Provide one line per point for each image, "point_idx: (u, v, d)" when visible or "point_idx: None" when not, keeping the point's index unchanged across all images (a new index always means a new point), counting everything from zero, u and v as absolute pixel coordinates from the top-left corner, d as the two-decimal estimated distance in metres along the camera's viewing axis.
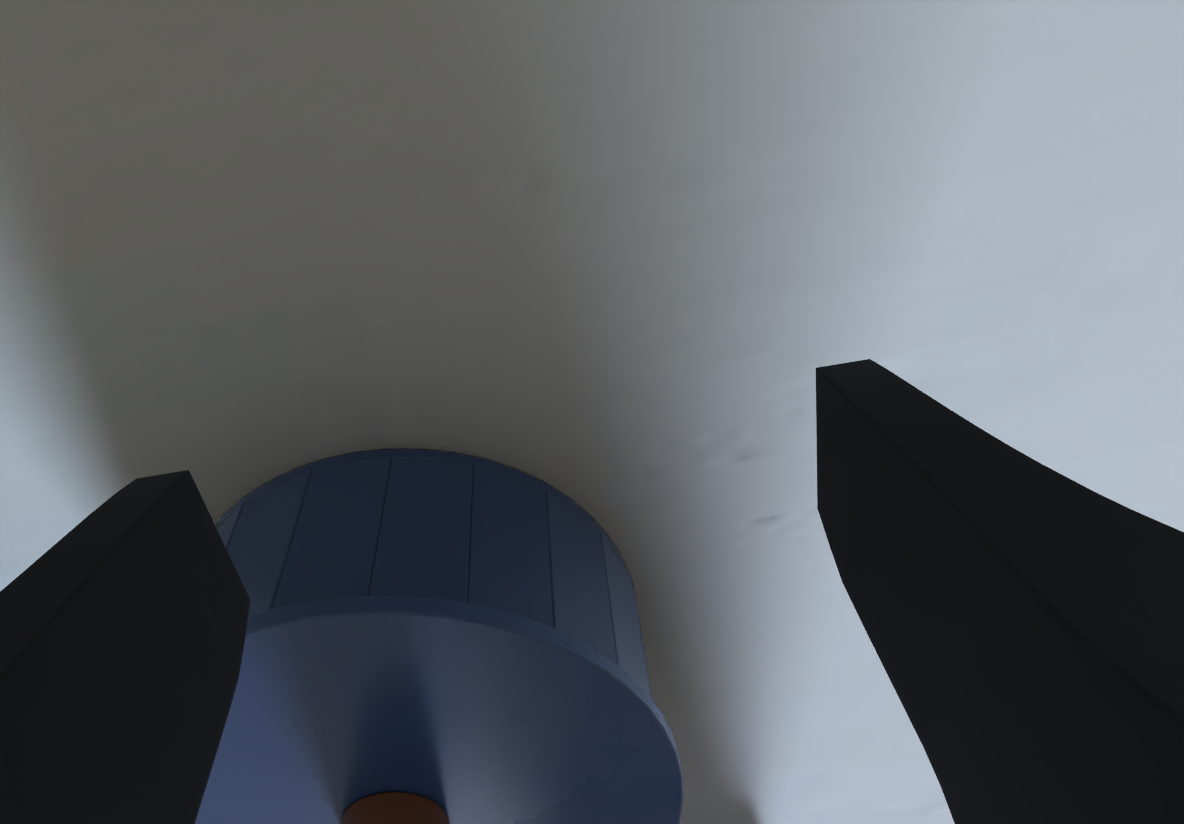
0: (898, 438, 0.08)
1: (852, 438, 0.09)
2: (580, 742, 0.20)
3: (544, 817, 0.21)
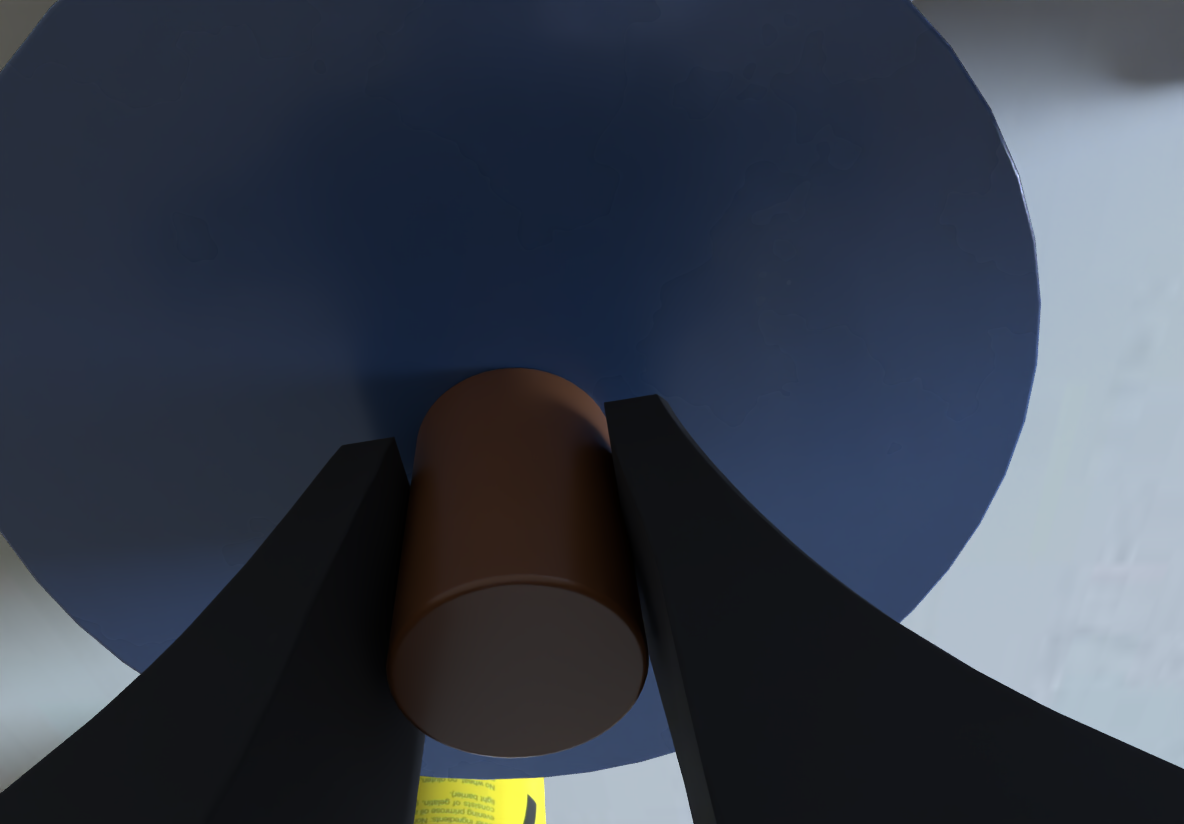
0: (636, 481, 0.08)
1: (618, 476, 0.09)
2: (251, 111, 0.09)
3: (516, 187, 0.10)
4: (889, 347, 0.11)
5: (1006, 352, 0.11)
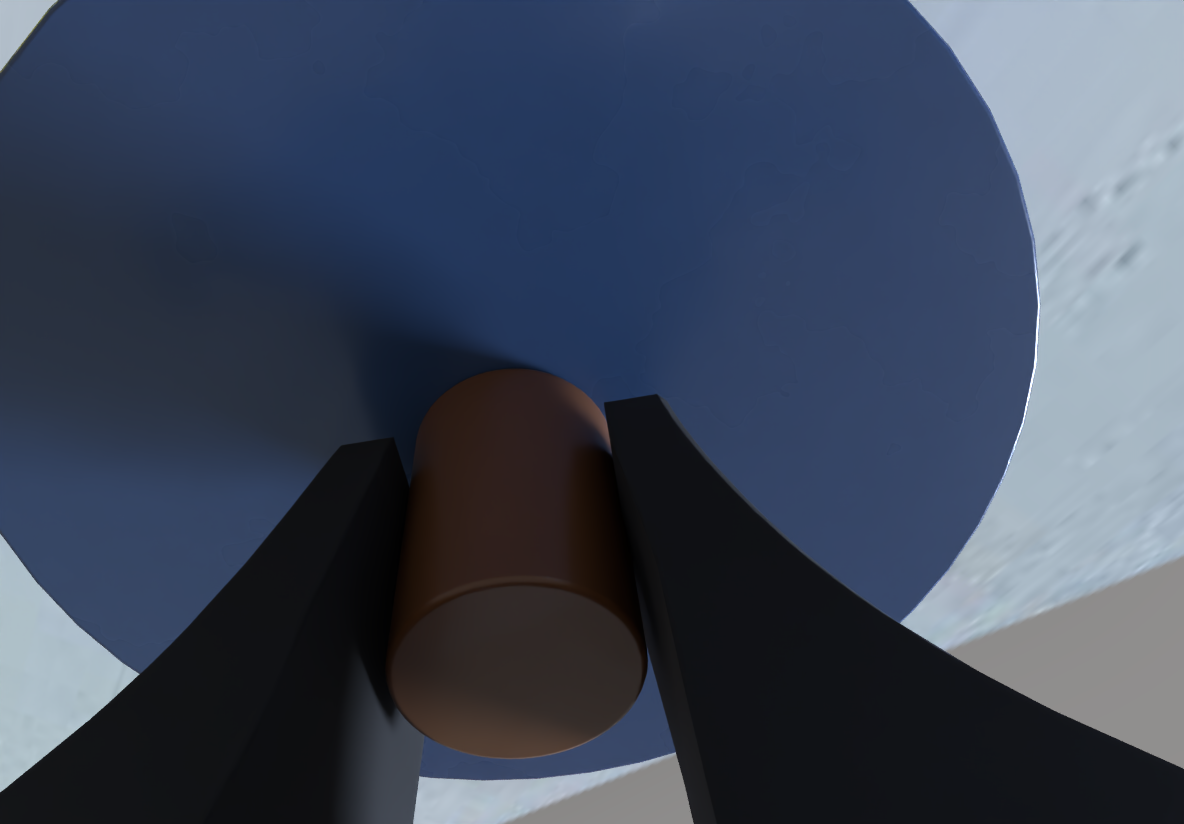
0: (635, 481, 0.08)
1: (618, 476, 0.09)
2: (251, 112, 0.09)
3: (516, 188, 0.10)
4: (889, 348, 0.11)
5: (1006, 353, 0.11)
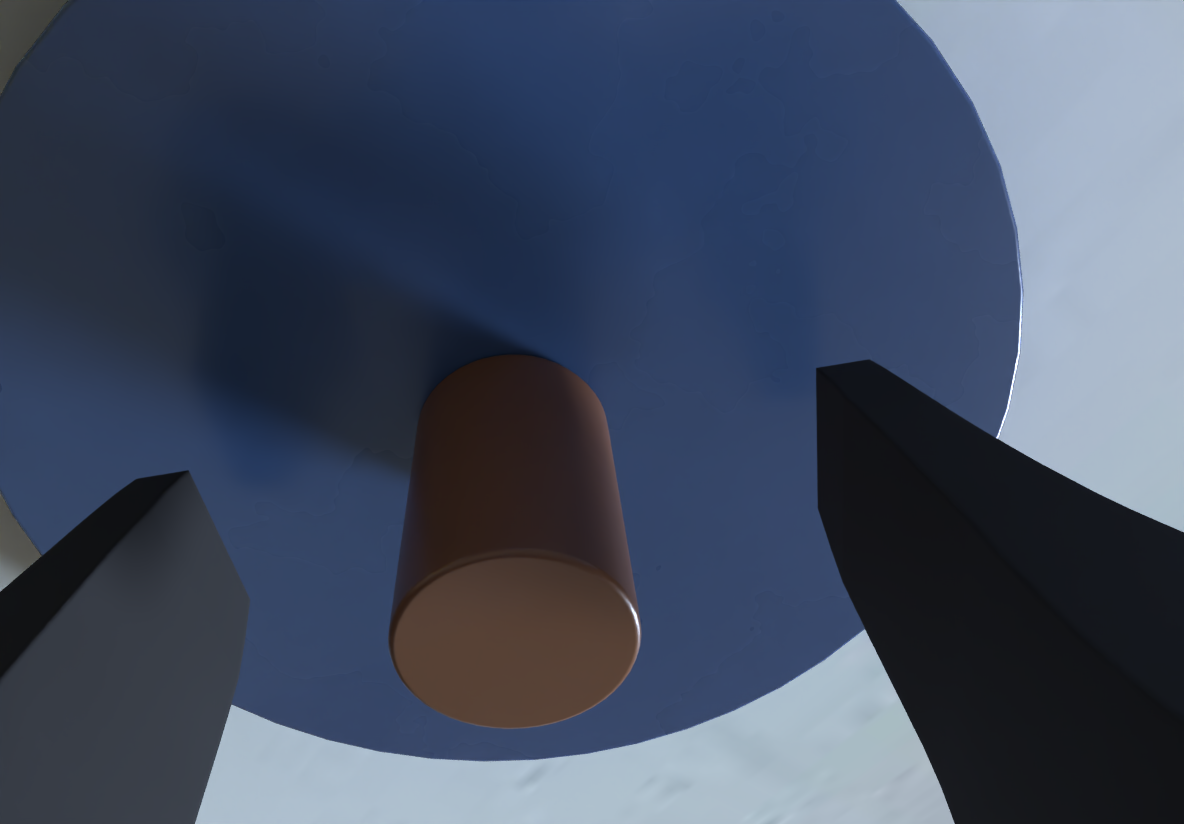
0: (898, 438, 0.08)
1: (852, 438, 0.09)
2: (258, 104, 0.09)
3: (514, 178, 0.10)
4: (876, 335, 0.12)
5: (990, 340, 0.12)
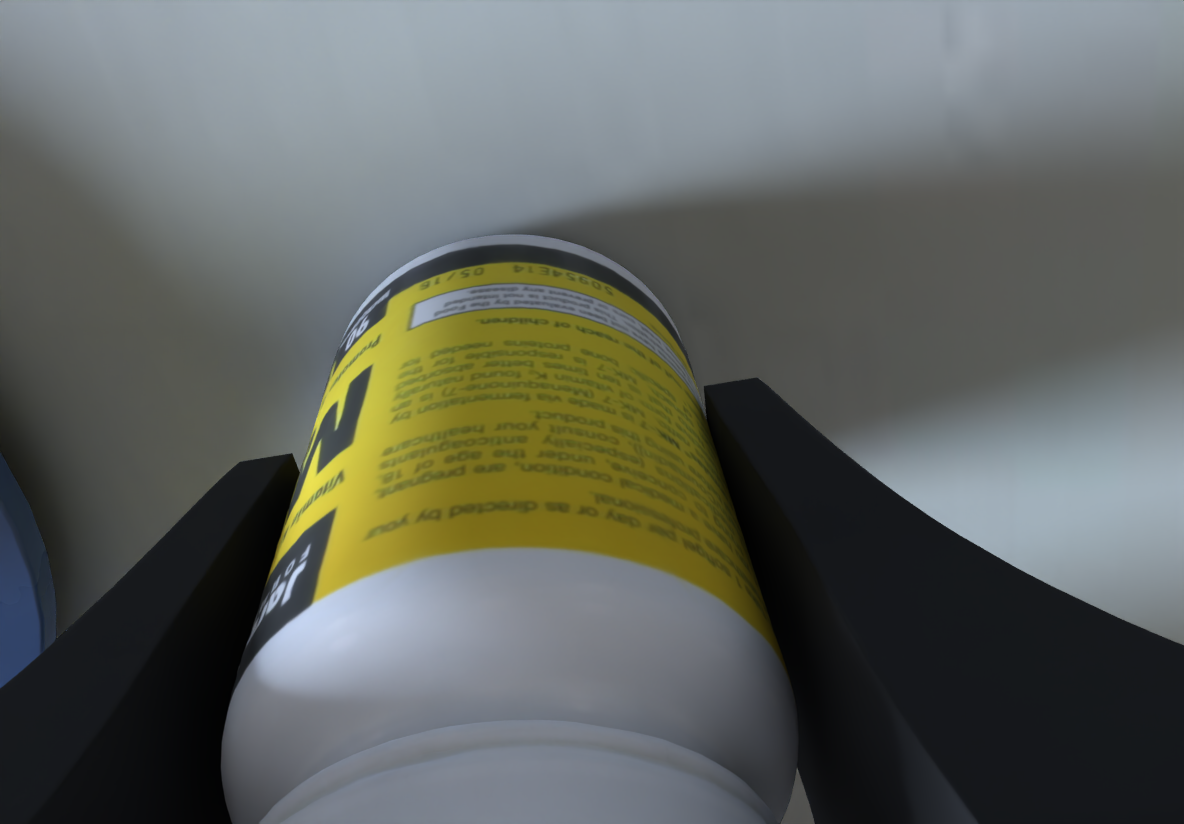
0: (759, 461, 0.08)
1: (728, 457, 0.09)
2: None
3: None
4: None
5: None
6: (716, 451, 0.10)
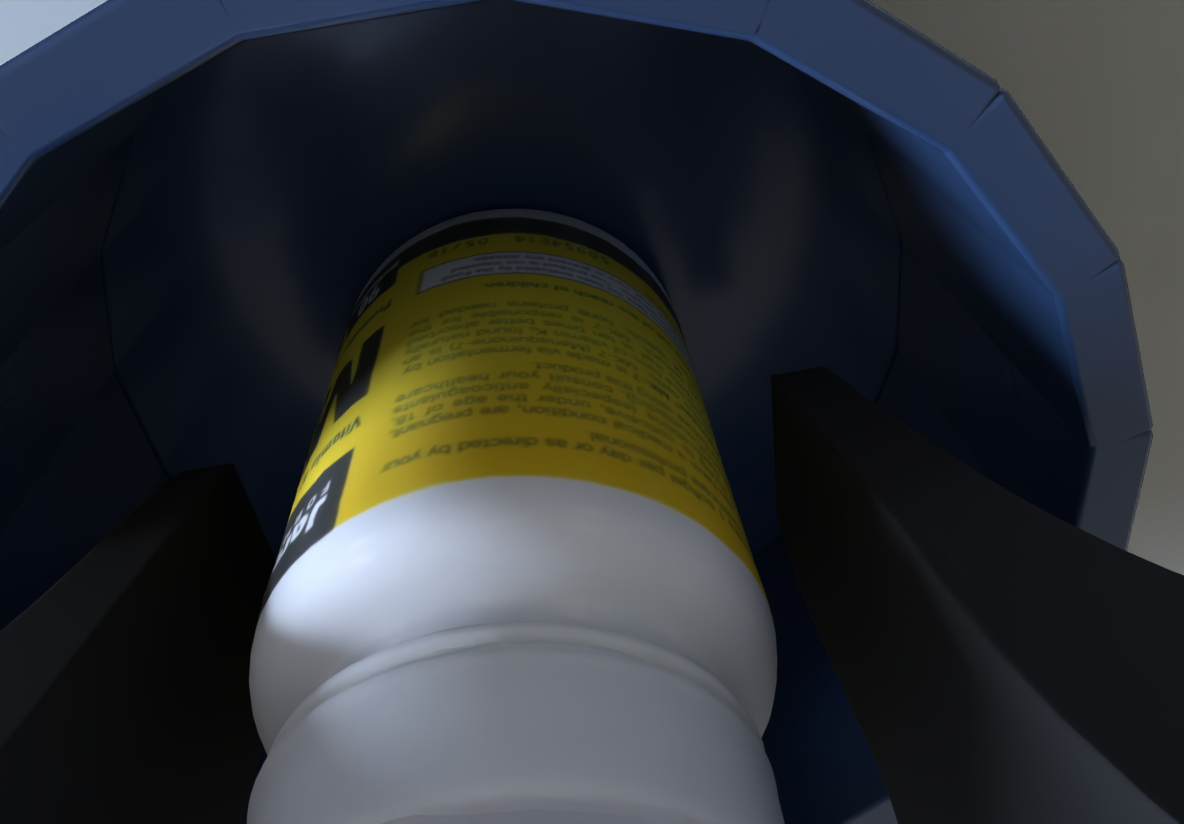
0: (842, 447, 0.08)
1: (802, 446, 0.09)
2: None
3: None
4: None
5: None
6: (705, 409, 0.11)
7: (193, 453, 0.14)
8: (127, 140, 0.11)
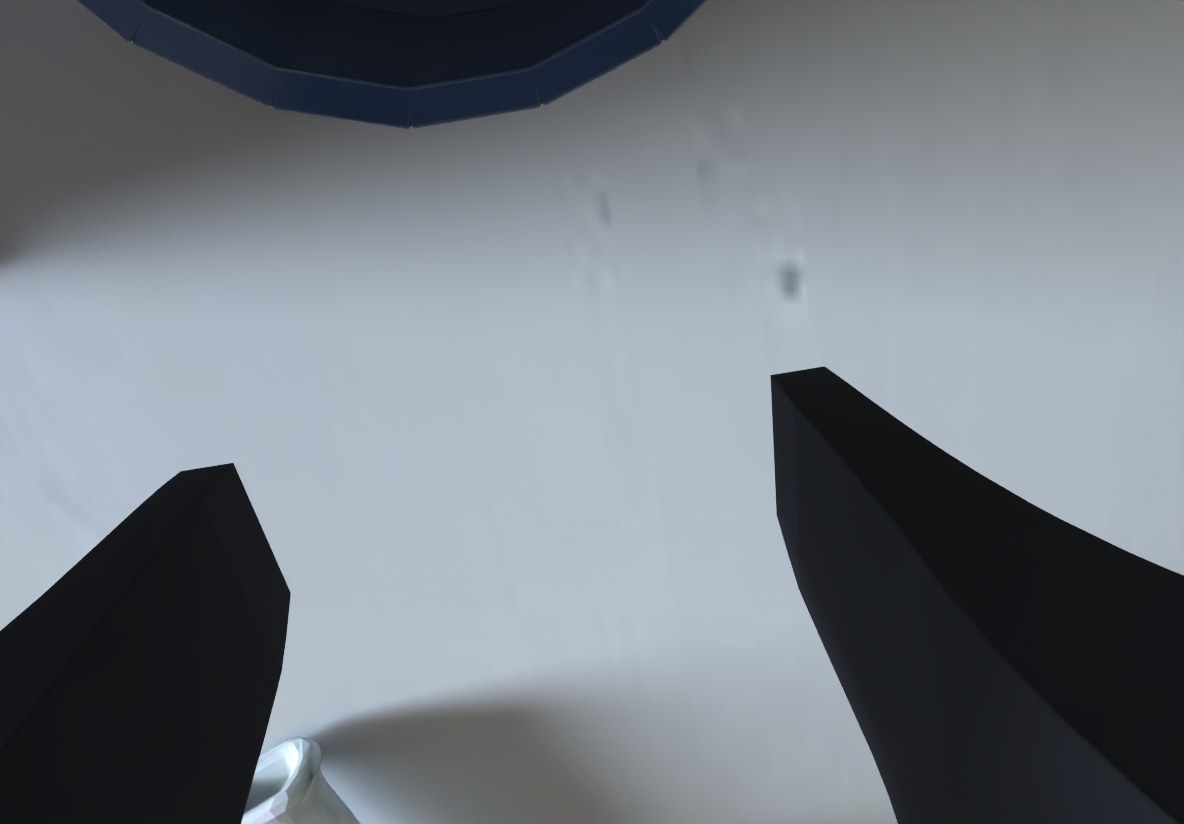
0: (842, 448, 0.08)
1: (802, 445, 0.09)
2: None
3: None
4: None
5: None
6: None
7: None
8: None
